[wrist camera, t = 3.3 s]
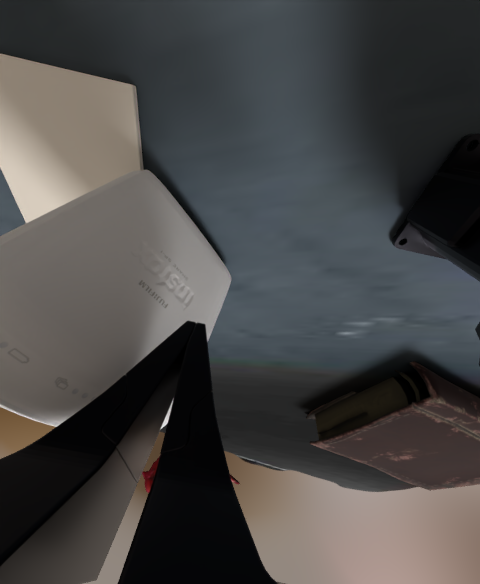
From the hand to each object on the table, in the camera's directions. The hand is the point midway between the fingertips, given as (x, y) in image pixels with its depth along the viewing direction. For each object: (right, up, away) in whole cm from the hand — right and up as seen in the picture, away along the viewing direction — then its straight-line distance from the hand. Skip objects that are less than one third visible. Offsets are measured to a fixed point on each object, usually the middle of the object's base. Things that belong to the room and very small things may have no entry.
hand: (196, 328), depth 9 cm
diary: (+27, -17, +21) cm, 38 cm away
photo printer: (-2, +6, +6) cm, 9 cm away
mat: (-10, +8, +7) cm, 14 cm away
